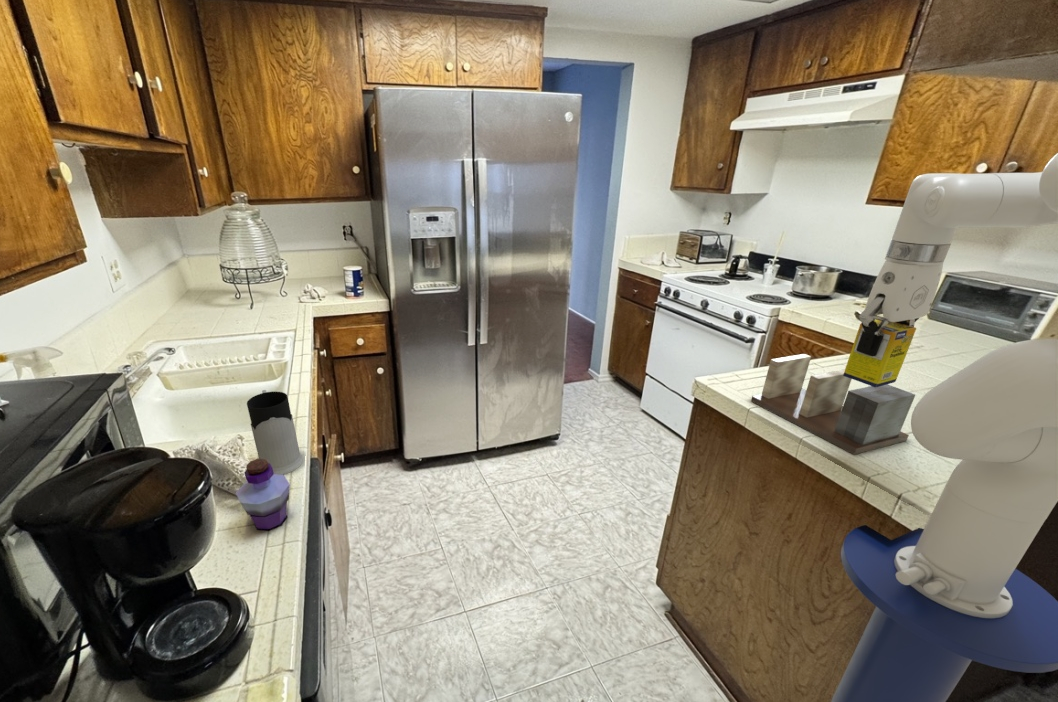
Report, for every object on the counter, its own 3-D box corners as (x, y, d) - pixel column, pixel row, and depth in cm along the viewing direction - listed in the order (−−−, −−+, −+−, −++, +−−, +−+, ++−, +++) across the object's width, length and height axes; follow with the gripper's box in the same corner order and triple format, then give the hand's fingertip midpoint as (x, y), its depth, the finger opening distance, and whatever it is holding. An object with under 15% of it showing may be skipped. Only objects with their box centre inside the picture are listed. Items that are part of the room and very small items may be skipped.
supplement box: (895, 382, 88) (918, 327, 83) (875, 388, 86) (897, 332, 81) (861, 370, 93) (881, 318, 88) (841, 376, 91) (860, 322, 86)
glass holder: (261, 480, 93) (245, 414, 86) (254, 446, 104) (239, 386, 98) (306, 467, 96) (294, 403, 90) (295, 436, 108) (283, 377, 102)
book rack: (853, 454, 97) (872, 406, 93) (750, 401, 120) (761, 359, 115) (906, 440, 102) (926, 393, 97) (797, 391, 125) (809, 351, 120)
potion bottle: (298, 500, 87) (286, 445, 82) (294, 532, 79) (281, 473, 74) (248, 508, 85) (233, 453, 80) (239, 542, 77) (222, 483, 72)
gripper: (905, 260, 73) (866, 365, 81) (976, 252, 78) (933, 351, 86) (856, 252, 80) (825, 350, 87) (925, 245, 85) (889, 338, 92)
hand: (879, 350), depth 87 cm, fingers closed on supplement box, 6 cm apart
